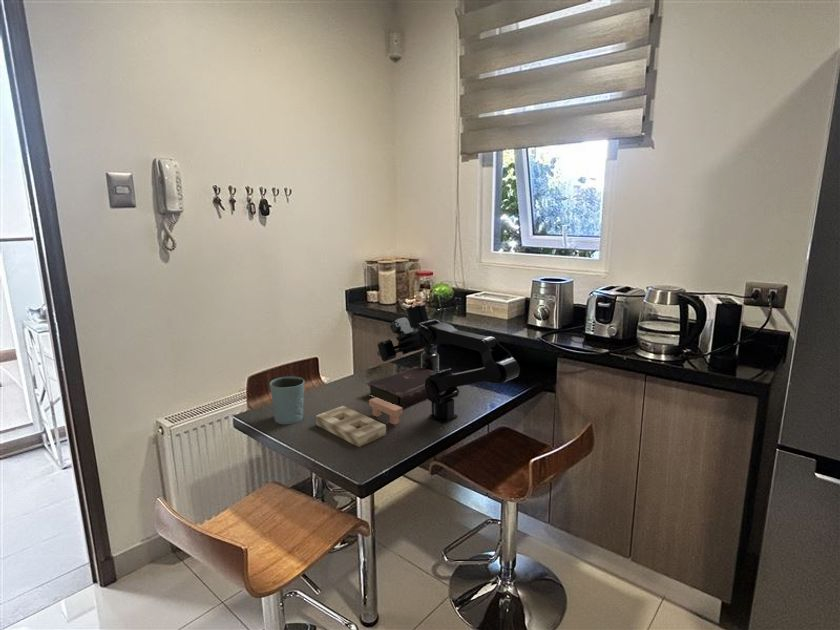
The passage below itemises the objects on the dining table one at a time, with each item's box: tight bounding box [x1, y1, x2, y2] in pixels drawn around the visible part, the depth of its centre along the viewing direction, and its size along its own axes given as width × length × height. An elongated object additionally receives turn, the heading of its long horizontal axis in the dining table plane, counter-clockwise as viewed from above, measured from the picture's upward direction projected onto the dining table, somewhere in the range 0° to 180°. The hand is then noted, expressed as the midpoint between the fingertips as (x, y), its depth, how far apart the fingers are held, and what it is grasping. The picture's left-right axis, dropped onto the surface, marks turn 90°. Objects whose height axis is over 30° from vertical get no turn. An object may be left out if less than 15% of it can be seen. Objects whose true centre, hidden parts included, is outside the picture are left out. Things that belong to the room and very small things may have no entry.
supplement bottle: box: [420, 348, 440, 372], centre depth 186 cm, size 7×7×12 cm
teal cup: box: [269, 376, 306, 425], centre depth 151 cm, size 10×10×12 cm
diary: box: [365, 366, 435, 409], centre depth 173 cm, size 19×25×5 cm
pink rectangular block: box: [368, 397, 404, 426], centre depth 150 cm, size 12×3×5 cm, turn 46°
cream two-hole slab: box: [315, 405, 387, 448], centre depth 144 cm, size 20×10×3 cm, turn 46°
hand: (388, 350), depth 166 cm, fingers open, 9 cm apart
